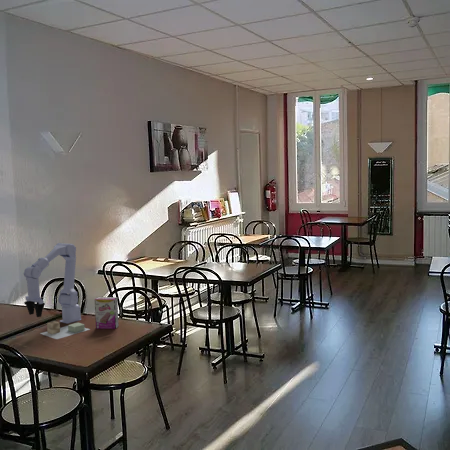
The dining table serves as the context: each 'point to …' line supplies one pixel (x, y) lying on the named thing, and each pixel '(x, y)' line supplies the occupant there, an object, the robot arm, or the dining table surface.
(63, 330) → the mat
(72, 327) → the sage base block
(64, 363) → the dining table surface
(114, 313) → the candy bar box
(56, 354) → the dining table surface
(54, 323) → the maple block
